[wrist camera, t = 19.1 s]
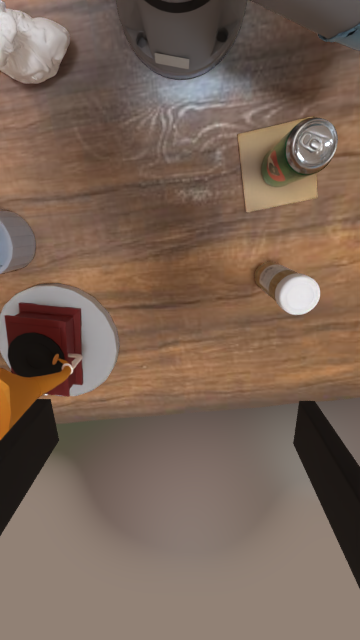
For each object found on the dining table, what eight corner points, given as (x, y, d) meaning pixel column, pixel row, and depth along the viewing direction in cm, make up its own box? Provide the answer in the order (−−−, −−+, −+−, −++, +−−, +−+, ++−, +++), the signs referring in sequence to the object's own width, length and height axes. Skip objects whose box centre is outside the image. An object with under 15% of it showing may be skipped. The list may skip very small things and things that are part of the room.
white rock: (1, 70, 38) (-39, 104, 32) (-36, -16, 32) (-94, 5, 25) (87, 72, 38) (64, 107, 31) (68, -15, 31) (34, 7, 25)
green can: (284, 194, 39) (321, 182, 28) (253, 177, 39) (277, 158, 27) (304, 157, 38) (353, 129, 26) (272, 139, 37) (307, 102, 26)
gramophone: (120, 289, 45) (42, 361, 22) (118, 395, 52) (57, 539, 28) (-4, 276, 45) (-216, 334, 22) (10, 384, 52) (-140, 517, 29)
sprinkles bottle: (264, 294, 44) (292, 323, 32) (248, 272, 43) (271, 292, 31) (289, 277, 43) (329, 300, 31) (273, 254, 42) (308, 267, 30)
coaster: (237, 135, 37) (237, 134, 37) (313, 116, 36) (314, 115, 36) (245, 212, 41) (246, 212, 40) (316, 198, 39) (317, 197, 39)
